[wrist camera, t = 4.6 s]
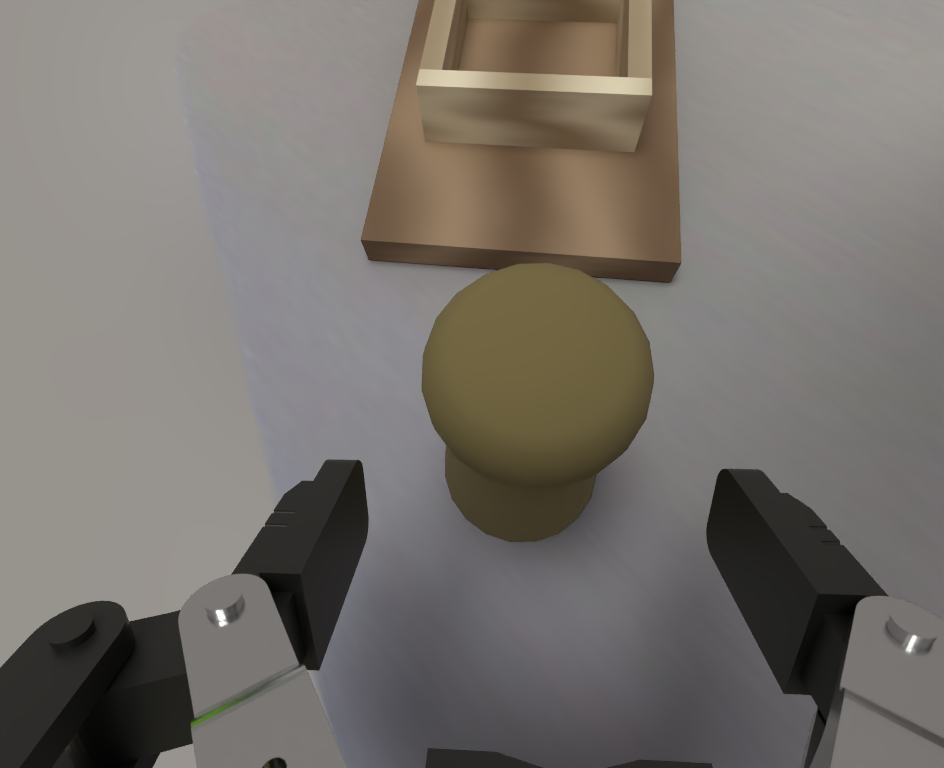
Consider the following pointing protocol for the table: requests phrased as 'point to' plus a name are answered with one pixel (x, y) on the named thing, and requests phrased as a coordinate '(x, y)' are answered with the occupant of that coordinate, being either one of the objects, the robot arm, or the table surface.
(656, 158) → the collar board
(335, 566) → the robot arm
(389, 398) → the table surface
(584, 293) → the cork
